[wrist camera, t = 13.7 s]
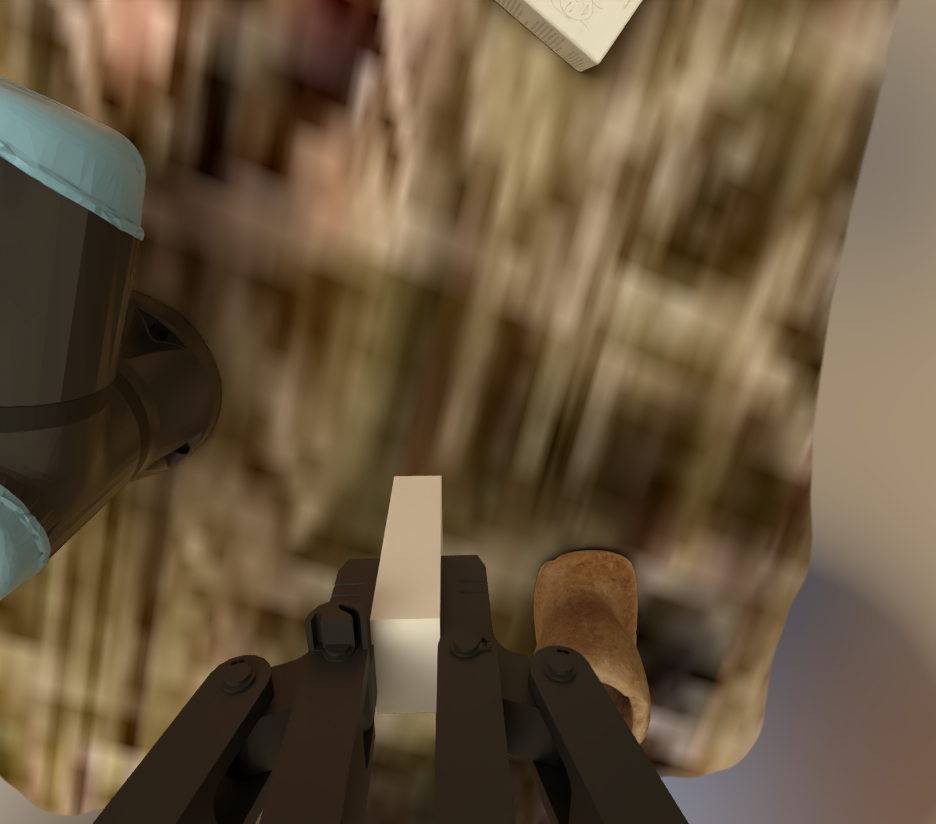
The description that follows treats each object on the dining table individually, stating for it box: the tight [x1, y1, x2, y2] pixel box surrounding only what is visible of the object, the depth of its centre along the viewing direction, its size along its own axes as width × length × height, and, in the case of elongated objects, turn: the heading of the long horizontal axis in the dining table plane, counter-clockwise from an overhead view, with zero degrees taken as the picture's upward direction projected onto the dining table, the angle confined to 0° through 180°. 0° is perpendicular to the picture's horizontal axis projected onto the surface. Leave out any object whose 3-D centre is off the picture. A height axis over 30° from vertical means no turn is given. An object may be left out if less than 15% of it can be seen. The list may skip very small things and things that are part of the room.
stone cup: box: [533, 550, 651, 744], centre depth 50 cm, size 15×12×15 cm
